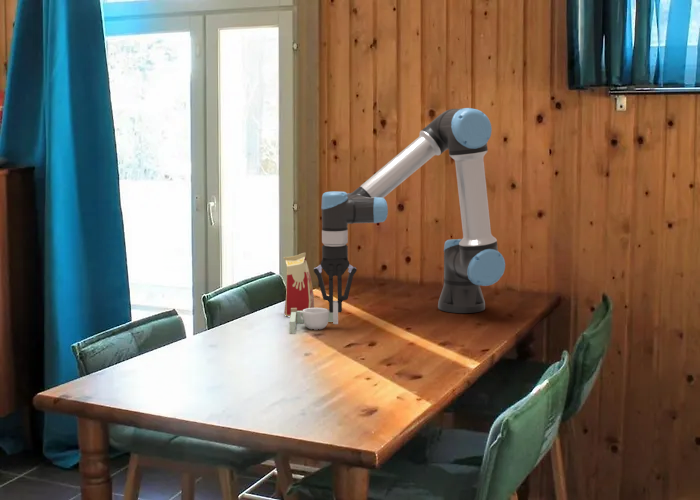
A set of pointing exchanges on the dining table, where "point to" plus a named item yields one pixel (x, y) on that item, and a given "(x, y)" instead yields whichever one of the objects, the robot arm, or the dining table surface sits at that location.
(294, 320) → the corner fence
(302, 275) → the milk carton
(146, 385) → the dining table surface
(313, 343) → the dining table surface
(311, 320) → the teacup
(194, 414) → the dining table surface
